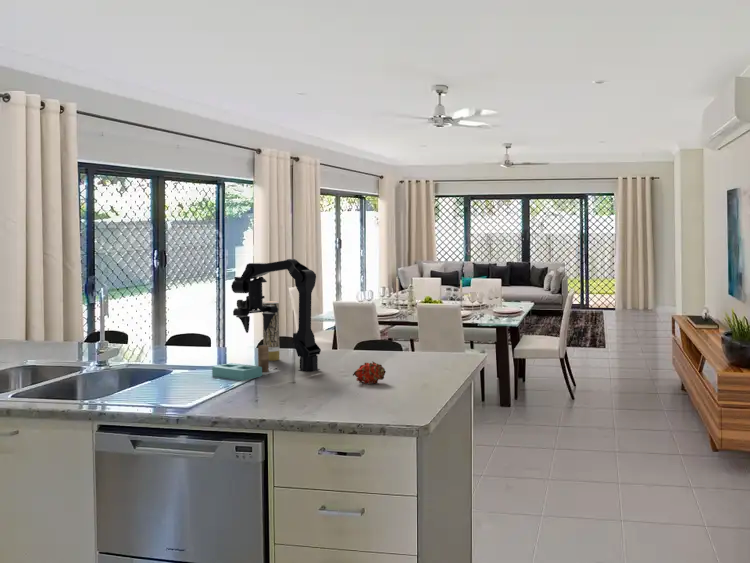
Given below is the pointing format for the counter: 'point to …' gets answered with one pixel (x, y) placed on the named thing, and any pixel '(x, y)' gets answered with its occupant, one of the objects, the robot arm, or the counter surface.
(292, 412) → the counter surface
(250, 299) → the robot arm
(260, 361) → the walnut peg
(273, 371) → the rubber mat
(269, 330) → the paper tube
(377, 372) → the dragon fruit
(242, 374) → the hole block
